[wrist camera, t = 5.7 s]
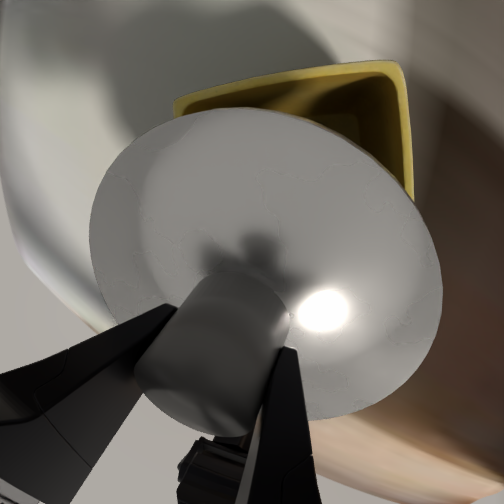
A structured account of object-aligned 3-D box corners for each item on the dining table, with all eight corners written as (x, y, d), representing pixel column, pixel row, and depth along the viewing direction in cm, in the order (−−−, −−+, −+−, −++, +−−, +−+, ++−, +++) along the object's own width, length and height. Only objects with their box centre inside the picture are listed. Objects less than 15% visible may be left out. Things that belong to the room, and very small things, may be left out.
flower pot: (243, 93, 18) (166, 99, 11) (381, 75, 15) (402, 58, 8) (268, 218, 22) (216, 292, 15) (395, 212, 19) (413, 292, 11)
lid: (435, 400, 10) (434, 491, 7) (186, 401, 15) (151, 461, 12) (390, 46, 5) (426, 0, 2) (58, 188, 11) (-22, 234, 7)
